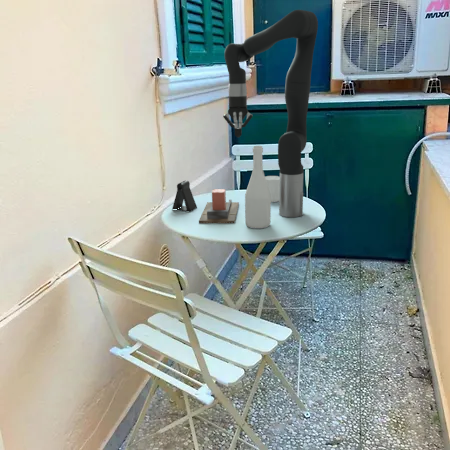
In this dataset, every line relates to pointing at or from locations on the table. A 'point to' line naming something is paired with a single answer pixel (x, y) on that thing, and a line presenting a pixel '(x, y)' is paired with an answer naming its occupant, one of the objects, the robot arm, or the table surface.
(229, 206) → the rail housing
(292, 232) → the table surface
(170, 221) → the table surface
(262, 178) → the wine bottle
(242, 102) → the robot arm
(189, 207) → the black a-frame stand
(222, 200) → the orange upright block
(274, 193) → the mug
